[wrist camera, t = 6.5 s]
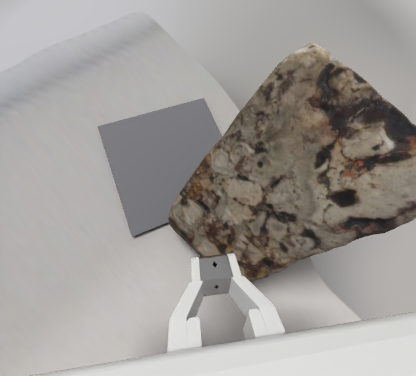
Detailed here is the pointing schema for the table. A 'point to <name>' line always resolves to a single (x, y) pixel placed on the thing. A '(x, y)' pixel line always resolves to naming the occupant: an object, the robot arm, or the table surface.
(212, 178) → the stone block
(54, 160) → the table surface
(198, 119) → the mat
